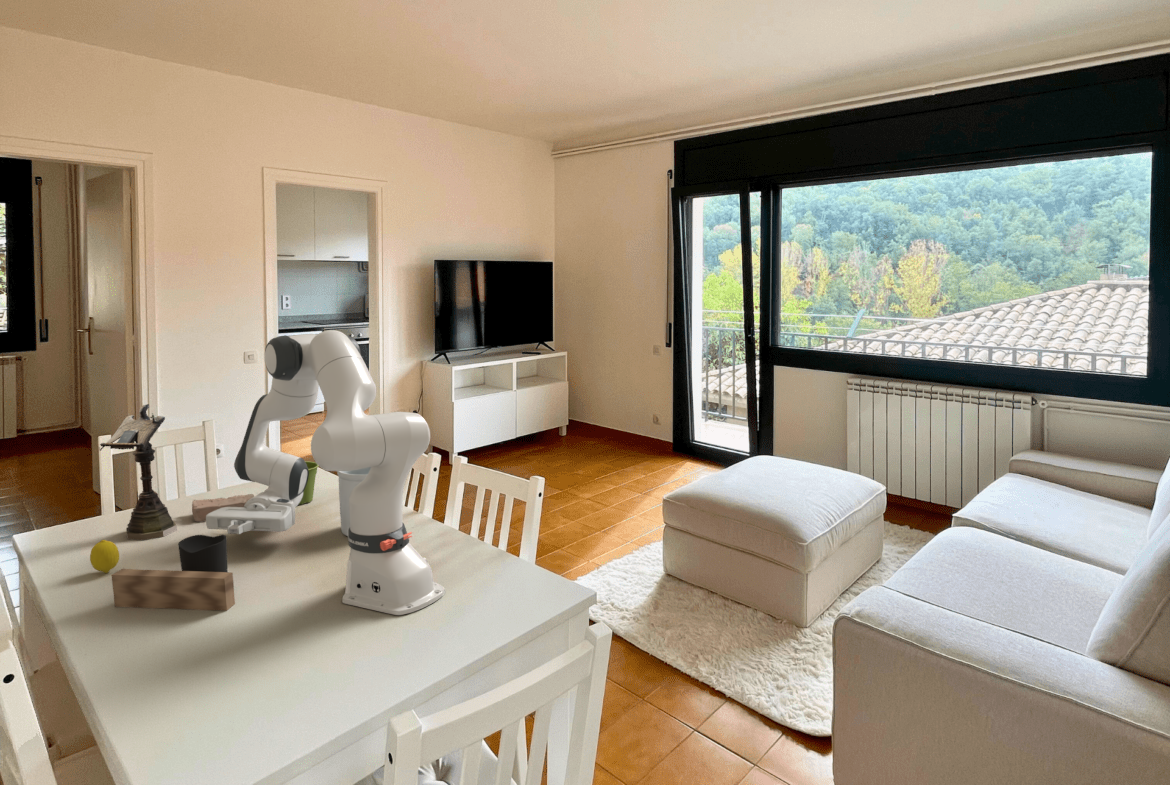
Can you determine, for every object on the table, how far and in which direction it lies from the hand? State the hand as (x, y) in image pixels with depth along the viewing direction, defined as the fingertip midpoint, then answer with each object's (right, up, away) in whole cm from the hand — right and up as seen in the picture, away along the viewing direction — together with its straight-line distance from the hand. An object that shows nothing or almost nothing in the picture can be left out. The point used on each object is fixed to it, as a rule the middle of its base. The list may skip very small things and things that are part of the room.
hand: (233, 530), depth 167 cm
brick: (-19, -2, +34) cm, 39 cm away
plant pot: (-3, 0, +46) cm, 46 cm away
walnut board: (-1, -11, -22) cm, 25 cm away
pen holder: (0, -10, -11) cm, 15 cm away
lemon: (-26, -9, -6) cm, 28 cm away
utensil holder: (+25, -4, +23) cm, 35 cm away
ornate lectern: (-31, -5, +17) cm, 36 cm away
